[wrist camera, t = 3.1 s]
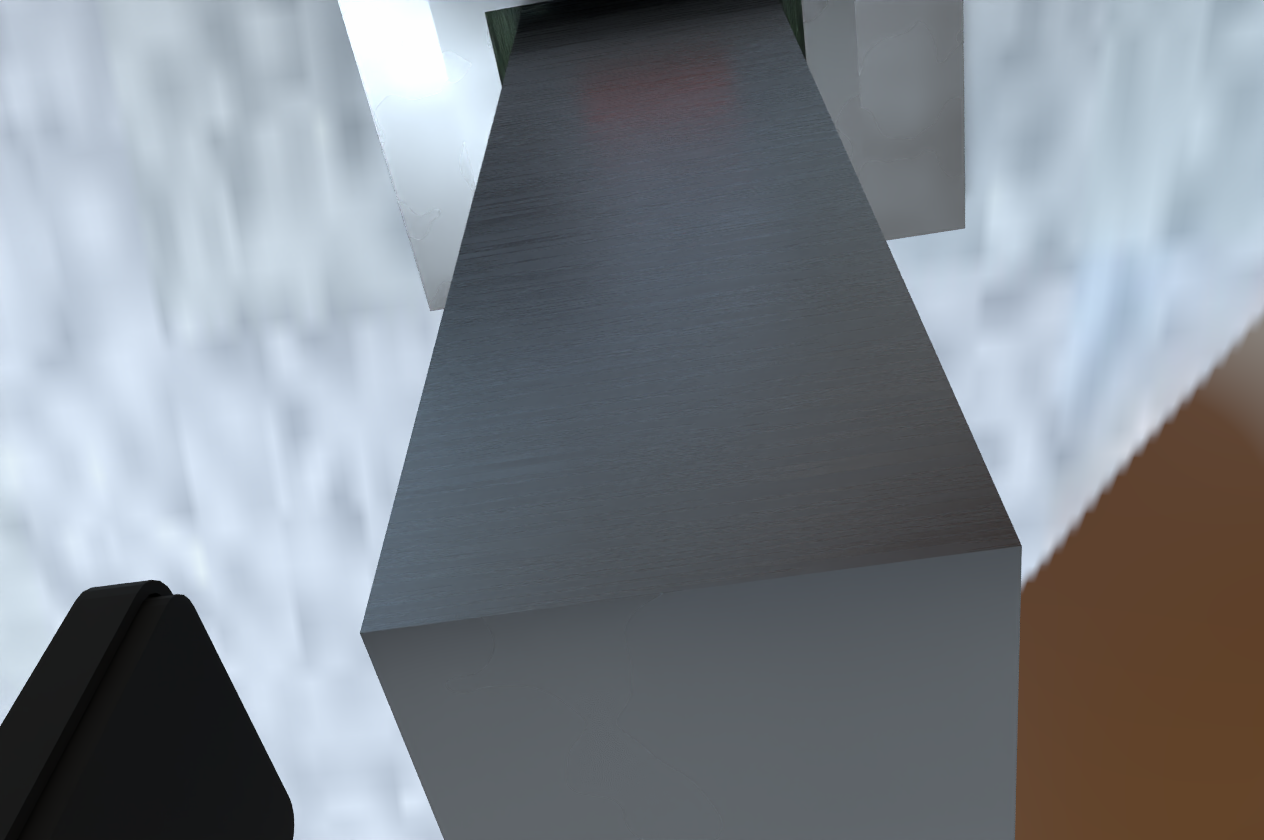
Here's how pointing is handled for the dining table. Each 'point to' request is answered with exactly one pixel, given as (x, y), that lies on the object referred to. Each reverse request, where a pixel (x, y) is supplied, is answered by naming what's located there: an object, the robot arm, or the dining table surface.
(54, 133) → the dining table surface
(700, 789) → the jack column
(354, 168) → the dining table surface
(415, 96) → the jack base
